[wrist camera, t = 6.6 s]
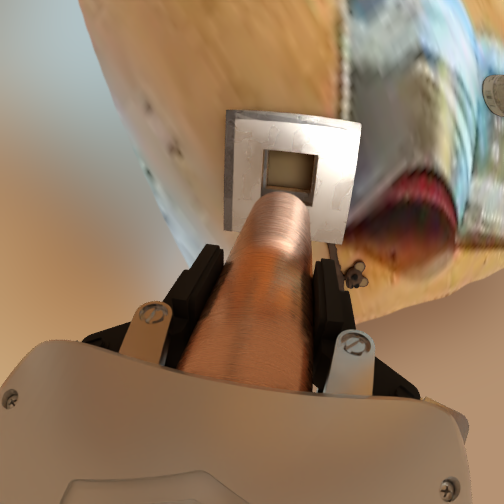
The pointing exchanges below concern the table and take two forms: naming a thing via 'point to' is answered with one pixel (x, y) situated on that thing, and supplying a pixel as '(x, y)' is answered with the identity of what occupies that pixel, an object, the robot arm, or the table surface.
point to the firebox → (291, 140)
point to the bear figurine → (352, 275)
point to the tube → (261, 303)
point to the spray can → (494, 93)
